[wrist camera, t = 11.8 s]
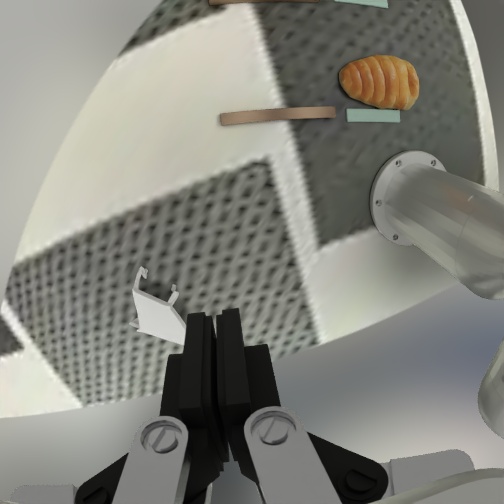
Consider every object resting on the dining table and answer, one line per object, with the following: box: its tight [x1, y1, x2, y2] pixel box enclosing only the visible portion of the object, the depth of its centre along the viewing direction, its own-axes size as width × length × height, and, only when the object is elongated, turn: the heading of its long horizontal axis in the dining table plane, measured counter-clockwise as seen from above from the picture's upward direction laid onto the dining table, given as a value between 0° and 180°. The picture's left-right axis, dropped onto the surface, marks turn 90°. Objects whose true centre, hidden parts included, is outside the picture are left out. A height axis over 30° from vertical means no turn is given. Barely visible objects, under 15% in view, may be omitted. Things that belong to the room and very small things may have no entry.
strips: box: [334, 0, 400, 122], centre depth 30 cm, size 7×16×1 cm, turn 5°
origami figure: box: [129, 266, 186, 345], centre depth 39 cm, size 12×8×5 cm
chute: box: [209, 0, 336, 125], centre depth 29 cm, size 12×15×2 cm
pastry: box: [339, 55, 419, 110], centre depth 30 cm, size 9×7×4 cm
